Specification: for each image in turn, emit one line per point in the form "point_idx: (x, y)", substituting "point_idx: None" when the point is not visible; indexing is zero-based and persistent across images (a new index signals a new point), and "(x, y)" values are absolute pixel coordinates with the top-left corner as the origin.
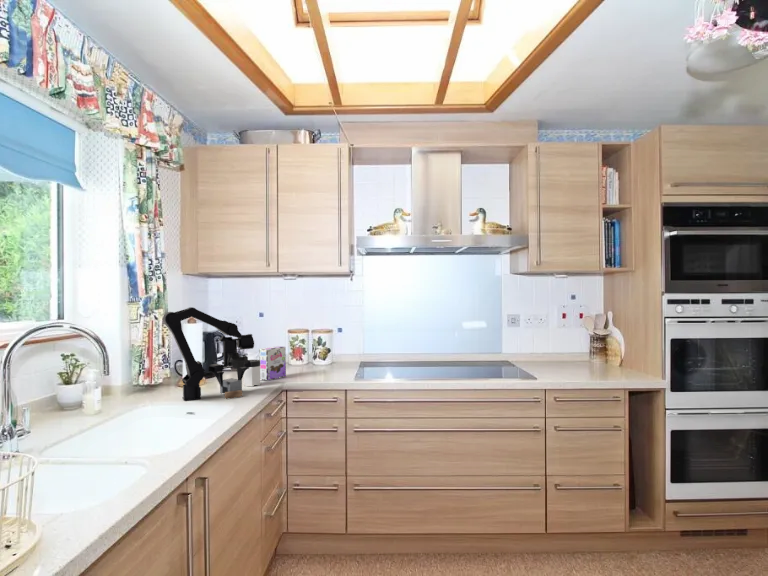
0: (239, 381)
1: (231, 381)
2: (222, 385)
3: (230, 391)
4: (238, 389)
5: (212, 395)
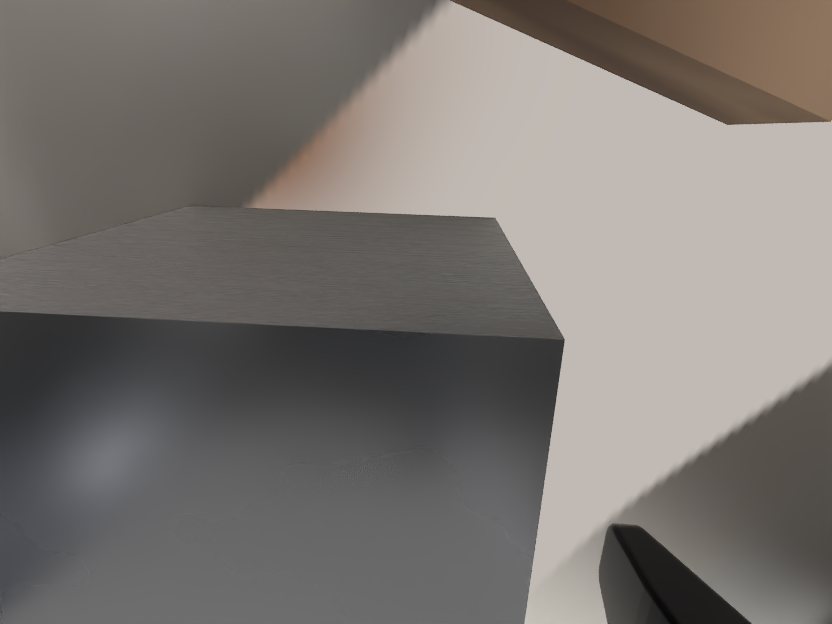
0: (23, 290)
1: (383, 446)
2: (635, 540)
3: (663, 31)
4: (236, 229)
5: (650, 534)
